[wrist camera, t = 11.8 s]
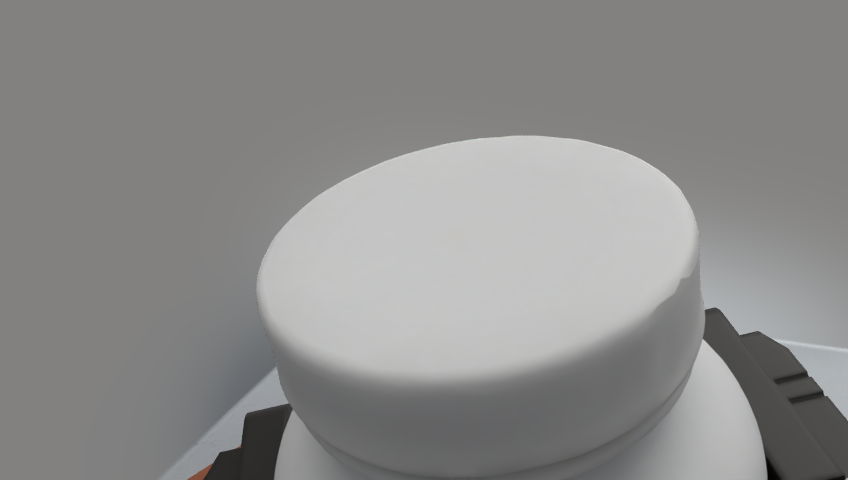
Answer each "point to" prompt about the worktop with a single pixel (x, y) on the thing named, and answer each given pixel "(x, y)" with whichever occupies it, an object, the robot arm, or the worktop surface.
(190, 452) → the worktop surface
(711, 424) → the pill bottle
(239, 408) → the worktop surface
